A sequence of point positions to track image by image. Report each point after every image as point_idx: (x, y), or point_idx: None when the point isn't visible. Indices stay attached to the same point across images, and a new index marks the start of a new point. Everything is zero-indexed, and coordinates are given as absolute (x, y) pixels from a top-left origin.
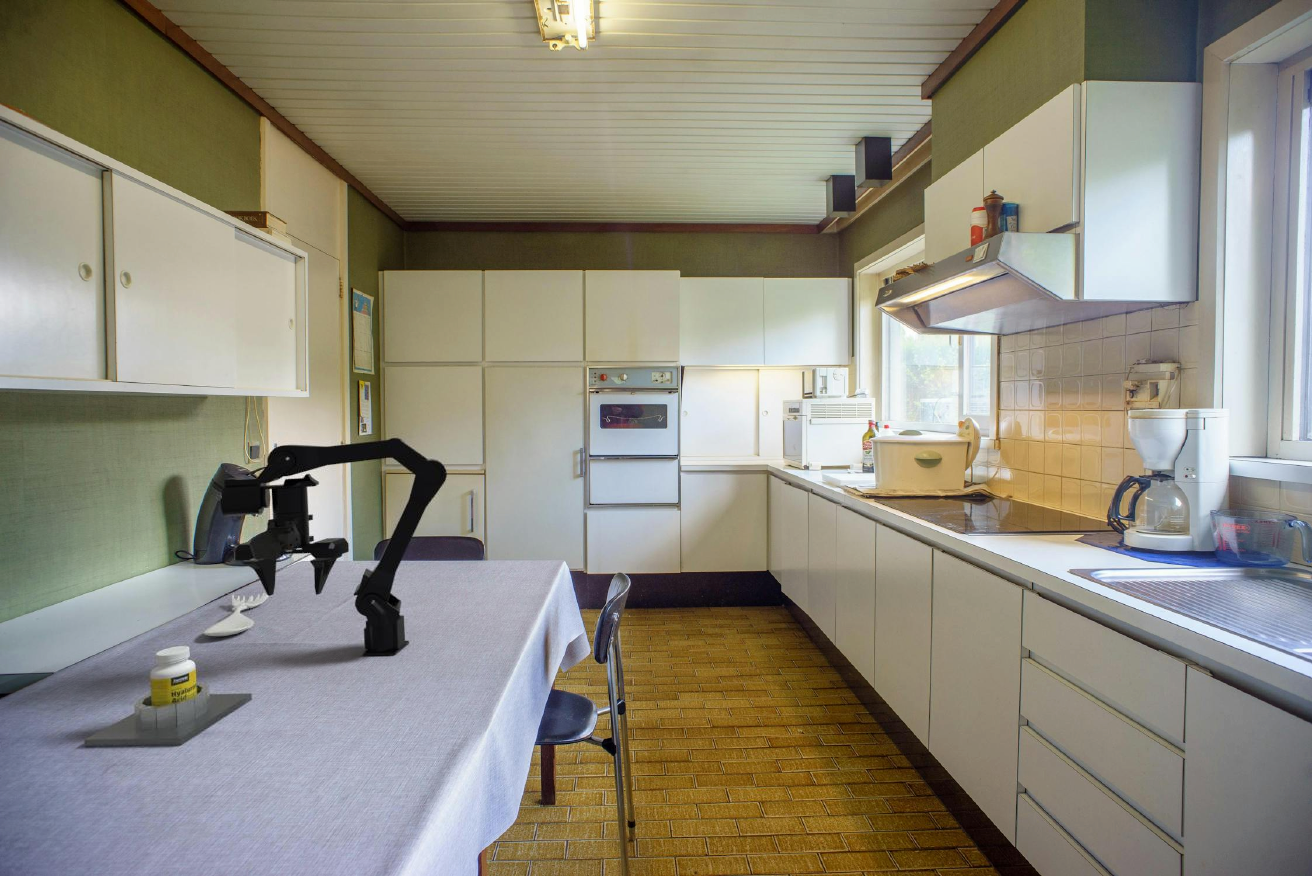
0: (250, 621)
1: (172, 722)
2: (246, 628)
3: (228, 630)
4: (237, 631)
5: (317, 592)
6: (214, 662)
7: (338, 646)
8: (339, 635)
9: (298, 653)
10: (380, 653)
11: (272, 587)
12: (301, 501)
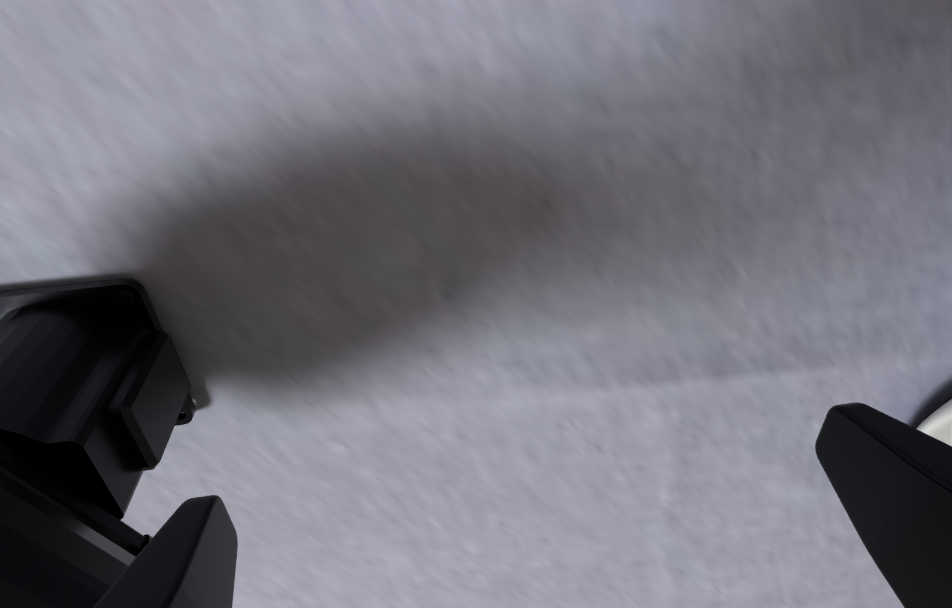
0: None
1: None
2: None
3: None
4: (926, 419)
5: (175, 519)
6: (901, 156)
7: (392, 372)
8: (482, 466)
9: (537, 285)
10: (18, 294)
11: (878, 514)
12: None
